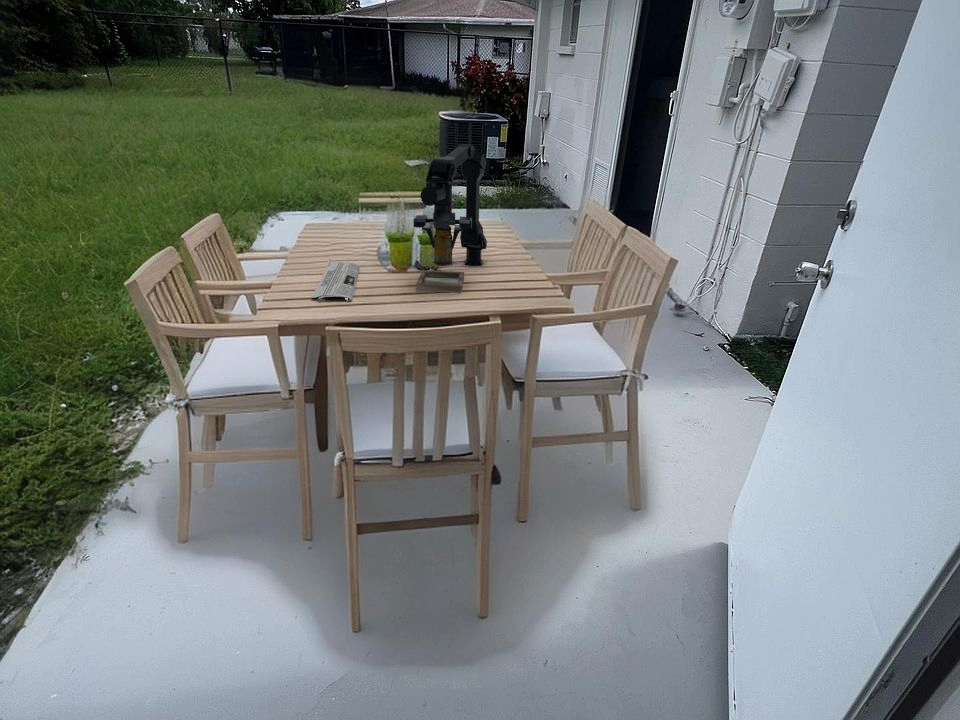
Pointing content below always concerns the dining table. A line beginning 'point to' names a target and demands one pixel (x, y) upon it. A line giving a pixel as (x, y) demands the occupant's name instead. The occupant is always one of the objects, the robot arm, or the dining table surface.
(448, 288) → the holder tray
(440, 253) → the condiment
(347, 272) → the newspaper
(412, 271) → the dining table surface
